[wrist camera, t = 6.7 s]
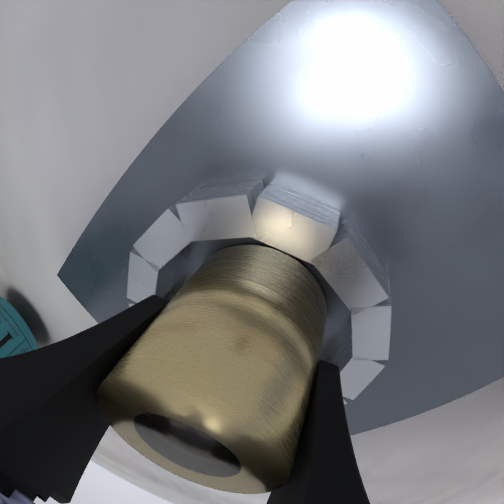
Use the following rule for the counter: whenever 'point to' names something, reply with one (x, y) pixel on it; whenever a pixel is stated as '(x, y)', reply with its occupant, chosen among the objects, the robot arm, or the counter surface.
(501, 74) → the counter surface
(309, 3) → the jig plate
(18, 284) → the counter surface
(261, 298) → the brass bushing
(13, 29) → the counter surface
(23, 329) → the beverage bottle
